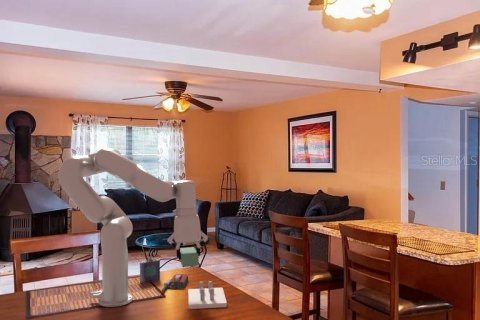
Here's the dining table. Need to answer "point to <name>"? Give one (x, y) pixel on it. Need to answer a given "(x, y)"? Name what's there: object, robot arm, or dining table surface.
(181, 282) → the walkie-talkie
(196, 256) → the green boxy piece
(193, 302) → the standoff plate
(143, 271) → the flask
